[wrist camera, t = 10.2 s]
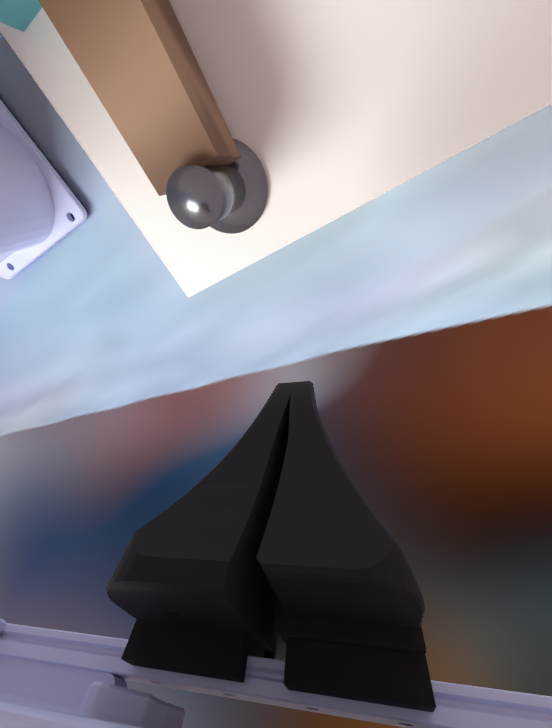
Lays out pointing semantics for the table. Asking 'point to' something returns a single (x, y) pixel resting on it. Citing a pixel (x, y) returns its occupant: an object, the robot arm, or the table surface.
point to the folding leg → (156, 101)
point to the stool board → (310, 107)
